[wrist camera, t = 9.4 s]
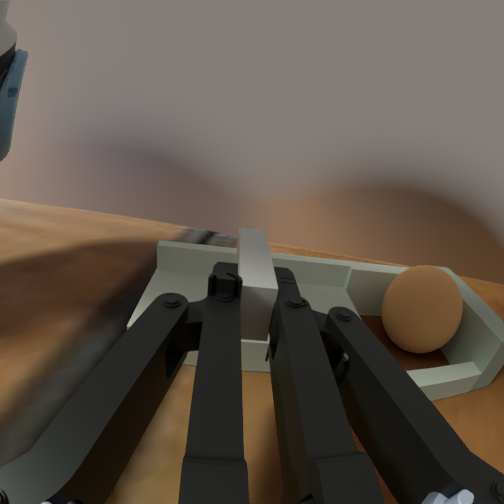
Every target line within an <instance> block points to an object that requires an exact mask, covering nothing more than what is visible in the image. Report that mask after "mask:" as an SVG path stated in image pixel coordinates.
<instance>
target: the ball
mask: <svg viewBox="0 0 504 504" xmlns="http://www.w3.org/2000/svg"><path fill="white" fill-rule="evenodd" d="M462 312H463V301H462V295H461V292H460V289H459V287H458V285H457V284H456V282H455V280H454V279H453V278H452V277H451V276H450V275H449V274H448V273H447V272H445V271H444V270H442V269H440V268H437V267H435V266H429V265H420V266H415V267H411V268H409V269H407V270H405V271H403V272H402V273H400V274H399V275H398V276H397V277H396V278H395V279H394V280H393V281H392V282H391V284H390V285H389V287H388V289H387V290H386V292H385V295H384V298H383V302H382V310H381V314H382V322H383V326H384V329H385V331H386V333H387V335H388V336H389V338H390V339H391V340H392V341H393V342H394V343H395V344H396V345H397V346H398V347H400V348H402V349H403V350H406V351H408V352H412V353H427V352H431V351H434V350H436V349H438V348H440V347H442V346H443V345H444V344H446V343H447V342H448V341H449V340H450V339H451V338H452V337H453V335H454V334H455V332H456V331H457V329H458V327H459V324H460V321H461V318H462Z"/></svg>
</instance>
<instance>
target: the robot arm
mask: <svg viewBox="0 0 504 504" xmlns="http://www.w3.org/2000/svg"><path fill="white" fill-rule="evenodd" d="M9 1H10V0H0V161H2V160H3V159H4V158H5V157H6V156H7V154H8V152H9V150H10V146H11V139H12V131H13V125H14V119H15V113H16V107H17V101H18V96H19V91H20V87H21V82H22V78H23V74H24V70H25V66H26V61H27V57H28V53H27V51H22V50H21V49H18V50H17V51H15V46H16V39H17V33H16V31H15V30H14V29H13V28H12V27H11V26H10V25H9V24H8V23H7V22H6V15H7V10H8V5H9ZM268 334H269V337H270V341H269V345H268V349H267V354H266V358H265V361H268V358H269V364H270V373H271V382H272V391H273V400H274V409H275V418H276V427H277V436H278V445H279V455H280V464H281V473H282V483H283V492H282V497H281V504H384V500H383V497H382V493H381V490H380V486H379V483H378V479H377V476H376V472H375V469H374V466H373V464H374V465H375V467H376V469H377V470H378V472H379V474H380V475H381V477H382V478H383V480H384V482H385V483H386V485H387V487H388V488H389V490H390V492H391V493H392V495H393V496H394V498H395V499H396V500H397V502H398V503H399V504H504V474H502V473H501V472H499V471H498V470H496V469H495V468H493V467H492V466H490V465H489V464H488V463H486V462H485V461H483V460H482V459H480V458H479V457H477V456H476V455H475V454H473V453H472V452H470V451H469V449H468V448H467V447H466V445H465V444H464V443H463V441H462V440H461V439H460V438H459V436H458V435H457V434H456V432H455V431H454V430H453V429H452V427H451V426H450V425H449V423H448V422H447V421H446V420H445V418H444V417H443V416H442V415H441V413H440V412H439V411H438V410H437V408H436V407H435V406H434V405H433V403H432V402H431V401H430V400H429V399H428V397H427V396H426V395H425V394H424V392H423V391H422V390H421V389H420V388H419V386H418V385H417V384H416V383H415V382H414V380H413V379H412V378H411V377H410V376H409V374H408V373H407V372H406V371H405V370H404V368H403V367H402V366H401V365H400V364H399V362H398V361H397V360H396V359H395V358H394V357H393V355H392V354H391V353H390V352H389V351H388V350H387V348H386V347H385V346H384V345H383V344H382V343H381V341H380V340H379V339H378V338H377V337H376V336H375V335H374V333H373V332H372V331H371V330H370V329H369V328H368V327H367V325H366V324H365V323H364V322H363V321H362V320H361V319H360V317H359V316H358V315H357V314H356V313H355V312H353V311H352V310H350V309H348V308H346V307H337V306H336V307H332V308H331V309H330V310H329V312H328V314H325V313H321V312H318V311H315V310H312V309H311V306H310V304H309V302H308V301H307V300H306V299H304V298H303V297H301V295H300V292H299V289H298V286H297V283H296V280H295V277H294V274H293V272H292V271H290V270H289V269H288V268H283V267H274V266H273V262H272V258H271V253H270V249H269V245H268V240H267V236H266V232H265V230H262V229H253V228H246V227H240V229H239V237H238V245H237V253H236V261H235V263H228V262H217V263H216V264H215V265H214V266H213V271H212V274H210V276H209V277H208V291H207V297H206V298H204V299H202V300H200V301H195V302H188V300H187V298H186V297H185V296H183V295H181V294H178V293H164V294H161V295H159V296H158V297H156V298H155V299H154V300H153V302H152V303H151V304H150V305H149V306H148V307H147V308H146V309H145V311H144V312H143V313H142V314H141V315H140V316H139V317H138V318H137V320H136V321H135V322H134V323H133V324H132V325H131V326H130V328H129V329H128V330H127V331H126V332H125V333H124V335H123V336H122V337H121V338H120V339H119V340H118V341H117V343H116V344H115V345H114V346H113V347H112V349H111V350H110V351H109V352H108V353H107V354H106V356H105V357H104V358H103V359H102V360H101V362H100V363H99V364H98V365H97V366H96V368H95V369H94V370H93V371H92V372H91V374H90V375H89V376H88V377H87V378H86V380H85V381H84V382H83V383H82V385H81V386H80V387H79V388H78V389H77V391H76V392H75V393H74V394H73V396H72V397H71V398H70V399H69V401H68V402H67V403H66V404H65V406H64V407H63V408H62V409H61V411H60V412H59V413H58V415H57V416H56V417H55V418H54V420H53V421H52V422H51V424H50V425H49V426H48V427H47V429H46V430H45V431H44V433H43V434H42V435H41V437H40V438H39V439H38V441H37V442H36V443H35V445H34V446H33V447H32V449H31V450H30V451H28V452H27V453H25V454H24V455H22V456H20V457H19V458H17V459H15V460H14V461H12V462H10V463H9V464H7V465H5V466H4V467H2V468H0V504H105V502H106V501H107V499H108V497H109V496H110V494H111V492H112V491H113V489H114V487H115V485H116V483H117V481H118V480H119V478H120V476H121V474H122V472H123V470H124V469H125V467H126V465H127V463H128V461H129V460H130V458H131V456H132V454H133V452H134V450H135V449H136V447H137V445H138V443H139V441H140V440H141V438H142V436H143V434H144V432H145V431H146V429H147V427H148V425H149V423H150V422H151V420H152V418H153V416H154V414H155V413H156V411H157V409H158V407H159V405H160V404H161V402H162V400H163V398H164V396H165V395H166V393H167V391H168V389H169V387H170V386H171V384H172V382H173V380H174V378H175V377H176V375H177V373H178V371H179V369H180V368H181V366H182V364H183V362H184V361H185V359H186V357H187V354H188V352H190V351H198V350H199V351H198V358H197V365H196V372H195V379H194V387H193V394H192V402H191V410H190V418H189V427H188V435H187V444H186V452H185V456H184V458H183V463H182V471H181V481H180V491H179V503H178V504H249V490H248V470H247V463H246V461H245V459H244V446H243V409H242V364H241V339H243V340H257V341H267V339H268ZM345 352H346V354H347V355H348V357H349V358H348V360H347V359H346V358H345V356H344V354H345ZM349 424H350V426H351V427H352V429H353V431H354V432H355V434H356V436H357V437H358V439H359V441H360V442H361V444H362V445H363V447H364V449H365V450H366V452H367V454H368V455H367V454H366V453H363V452H359V451H358V450H357V448H356V446H355V443H354V439H353V436H352V433H351V429H350V426H349ZM372 462H373V463H372Z"/></svg>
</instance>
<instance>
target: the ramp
mask: <svg viewBox="0 0 504 504" xmlns="http://www.w3.org/2000/svg"><path fill="white" fill-rule="evenodd" d="M236 253H237V249H236V248H227V247H218V246H209V245H200V244H191V243H182V242H172V241H163V240H160V241H159V243H158V244H157V269H156V271H155V273H154V275H153V276H152V278H151V280H150V282H149V284H148V286H147V288H146V289H145V291H144V293H143V295H142V297H141V299H140V301H139V303H138V305H137V307H136V309H135V311H134V313H133V315H132V317H131V319H130V321H129V323H128V325H127V330H128V329H129V328H130V326H131V325H132V324H133V323H134V322H135V321H136V320H137V318H138V317H139V316H140V315H141V314H142V313H143V312H144V311H145V309H146V308H147V307H148V306H149V305H150V304H151V303H152V302H153V300H154V299H155V298H156V297H158V296H159V295H161V294H164V293H178V294H181V295H183V296H185V297H186V298H187V300H188V302H195V301H200V300H202V299H204V298H206V297H207V291H208V277H209V276H210V274H212V271H213V266H214V265H215V264H216V263H217V262H228V263H235V261H236ZM270 253H271V258H272V262H273V266H274V267H283V268H288V269H289V270H290V271H292V272H293V274H294V277H295V280H296V283H297V286H298V289H299V292H300V295H301V297H303V298H304V299H306V300H307V301H308V302H309V304H310V306H311V309H312V310H315V311H318V312H321V313H325V314H328V312H329V310H330V309H331V308H332V307H336V306H337V307H346V308H348V309H350V310H352V311H353V312H355V313H356V314H357V315H358V316H359V315H361V316H382V314H381V310H382V302H383V298H384V295H385V292H386V290H387V289H388V287H389V285H390V284H391V282H392V281H393V280H394V279H395V278H396V277H397V276H398V275H399V274H400V273H402V272H403V271H405V270H407V269H409V268H405V267H396V266H387V265H378V264H369V263H361V262H352V261H343V260H334V259H325V258H316V257H307V256H298V255H289V254H281V253H272V252H270ZM435 267H436V266H435ZM437 268H440V269H442V270H444V271H445V272H447V273H448V274H449V275H450V276H451V277H452V278H453V279H454V280H455V282H456V284H457V285H458V287H459V289H460V292H461V295H462V301H463V312H462V318H461V321H460V324H459V327H458V329H457V331H456V332H455V334H454V335H453V337H452V338H451V339H450V340H449V341H448V342H447V343H446V344H444V345H443V346H442V347H440V350H441V351H442V353H443V354H444V356H445V357H446V358H447V360H448V361H449V363H450V364H451V365H448V366H442V367H435V368H427V369H419V370H411V371H406V372H407V373H408V374H409V376H410V377H411V378H412V379H413V380H414V382H415V383H416V384H417V385H418V386H419V388H420V389H421V390H422V391H423V392H424V394H425V395H426V396H427V397H428V399H429V400H430V401H434V400H439V399H443V398H447V397H451V396H455V395H459V394H463V393H466V392H470V391H473V390H476V389H480V388H483V387H486V386H489V384H490V383H491V382H492V380H493V379H494V377H495V376H496V375H497V373H498V372H499V370H500V369H501V368H502V366H503V365H504V321H503V320H502V319H501V318H500V317H499V316H498V315H497V314H496V313H495V312H494V311H493V310H492V309H491V308H490V307H489V306H488V305H487V304H486V303H485V302H484V301H483V300H482V299H481V298H480V297H479V296H478V295H477V294H476V293H475V292H474V291H473V290H472V289H471V288H470V287H469V286H467V285H466V284H465V283H464V282H463V281H462V280H461V279H460V278H459V277H458V276H457V275H455V274H454V273H453V272H452V271H451V270H450V269H449V268H445V267H437ZM359 317H360V316H359ZM360 319H361V317H360ZM361 320H362V319H361ZM269 341H270V337H269V334H268V339H267V341H257V340H243V339H241V364H242V370H243V371H258V372H270V364H269V358H268V361H265V358H266V354H267V349H268V345H269ZM198 351H199V350H198ZM198 351H190V352H188V354H187V357H186V359H185V361H184V362H183V364H186V365H194V366H196V365H197V358H198ZM344 356H345V358H346V359H347V360H348V358H349V357H348V355H347V354H346V352H345V354H344Z"/></svg>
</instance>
